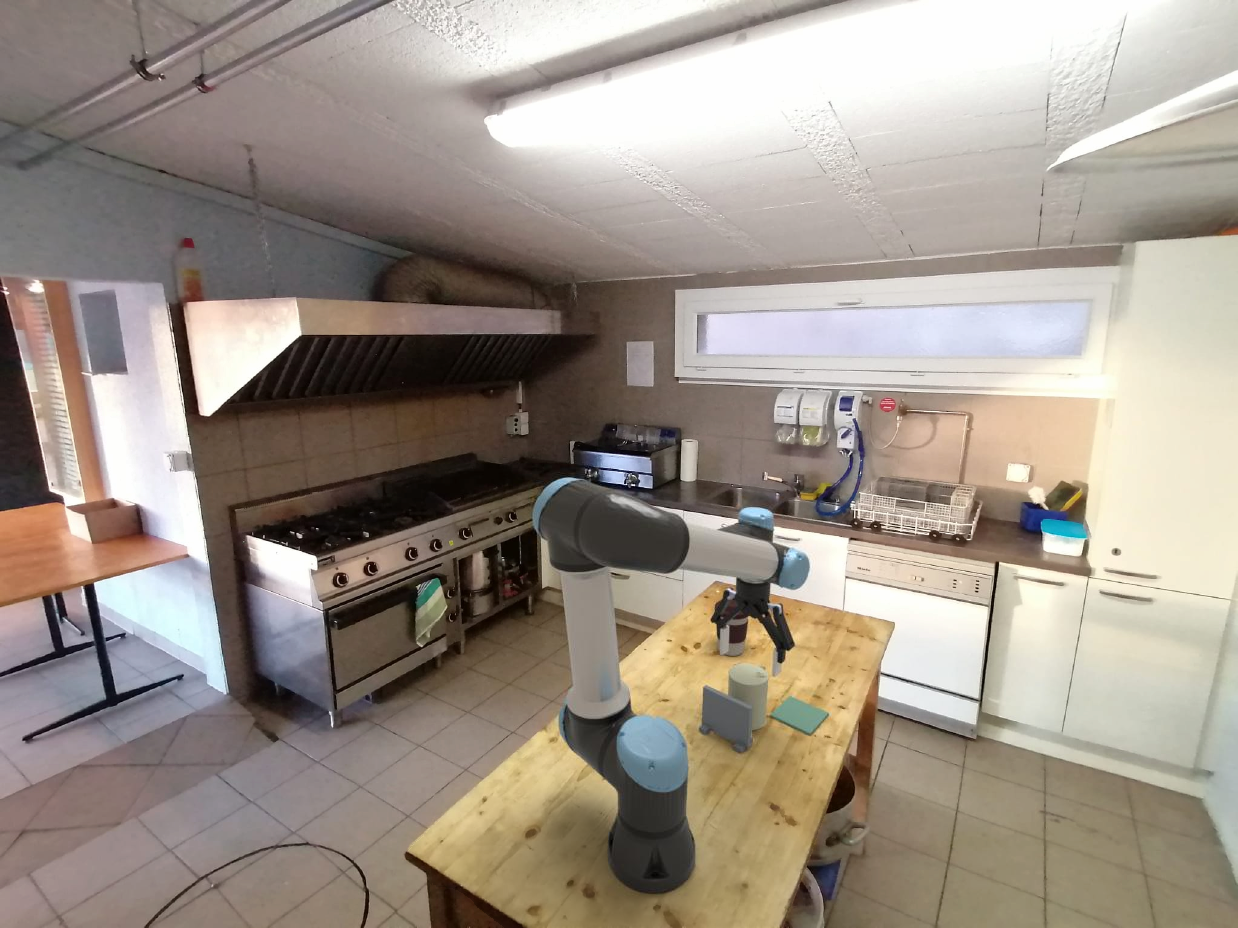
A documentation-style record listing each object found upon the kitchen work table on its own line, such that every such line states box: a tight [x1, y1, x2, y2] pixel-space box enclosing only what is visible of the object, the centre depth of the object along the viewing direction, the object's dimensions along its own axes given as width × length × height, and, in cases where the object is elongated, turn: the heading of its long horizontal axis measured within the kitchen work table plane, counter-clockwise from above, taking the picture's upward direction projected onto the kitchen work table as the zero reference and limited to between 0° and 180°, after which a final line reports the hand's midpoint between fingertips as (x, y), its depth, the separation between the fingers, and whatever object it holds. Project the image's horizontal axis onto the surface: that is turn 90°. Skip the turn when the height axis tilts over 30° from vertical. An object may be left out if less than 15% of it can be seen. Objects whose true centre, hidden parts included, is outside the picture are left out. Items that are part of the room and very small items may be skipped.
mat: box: [769, 695, 830, 737], centre depth 139 cm, size 10×10×1 cm
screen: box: [698, 684, 754, 754], centre depth 131 cm, size 5×12×10 cm, turn 48°
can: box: [727, 662, 770, 731], centre depth 138 cm, size 9×9×12 cm
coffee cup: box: [714, 597, 749, 657], centre depth 167 cm, size 10×10×15 cm
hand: (749, 663), depth 136 cm, fingers open, 13 cm apart
